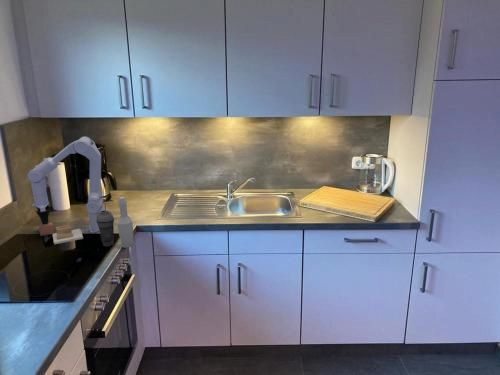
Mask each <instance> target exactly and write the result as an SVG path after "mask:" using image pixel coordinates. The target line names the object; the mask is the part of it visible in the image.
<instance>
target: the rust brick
mask: <svg viewBox="0 0 500 375" xmlns="http://www.w3.org/2000/svg"><path fill="white" fill-rule="evenodd" d="M38 230H39V236H40V237H42V236H47V235H52V234H54V233H55V228H54V224H53V221H52V222H51V221H50V222H48V224H45V225H43V224H42V223H40V224H38Z"/></svg>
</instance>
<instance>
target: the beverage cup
mask: <svg viewBox="0 0 500 375" xmlns="http://www.w3.org/2000/svg"><path fill="white" fill-rule="evenodd" d="M106 209H107V201H106V200H104V211H101V212H100V213H99V214H98V215H97V220H96V222H97V224H98V226H99V230H100V231H99V235H100V238H101V242H102V245H103V247H111V245H112V246H114V244H115V232H114V229H115V228H114V223H115V218H114V215H113V213H112V212H110V211H109V210H108V211H106Z"/></svg>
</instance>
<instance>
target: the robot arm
mask: <svg viewBox="0 0 500 375" xmlns="http://www.w3.org/2000/svg"><path fill="white" fill-rule="evenodd" d="M70 154H71V155H72V154H74V155H75V154H80V155H82V156H84V157H86V158H87V159H88V160H89V187H88V189H89V194H88V198H87V202H86V206H85V209H86V211H87V214H88V222H89V226H88V229H89V232H90V233H91V234H93V233H97V232H100V230H99V226H98V224H97V222H96V220H97V215H98V214H99V213H100V212H101V211H104V210H105V208H104V207H103V206H104V198H103V197H102V192H101V187H102V186H101V184H102V180H101V179H102V176H101V175H102V154H101V152H100V151H99V149H98V148H97V146H96V143H95V141H94V140H92V138H90V137H89V136H81V137H80V138H79V139H77V140H75V141H73V142H70V143H69V144H68V145H66V146H65V147H64V148H63V149H61V150H60V151H59V152H58V153H57V154H55V156H53V157H47V158H46V157H44V158H43V159H42V161H41V162H40V163H39V164H36V165H34V168H32V169H31V170H30V171H29V172H28V173H27V178H28V180H29V181H30V184H31V185H30V186H31V190H32V196H33V201H34V202H33V203H32V204H31V206H32V207H35V208H36V209H37V210H35V213H36V214H37V215H38V217H39V220H40V221H41V224H43V225H45V224H48V223H49V214H50V212H51V209H50V208H49V205H50V201H49V198H48V192H47V185H46V180H45V177H46V176H48V175H50V174H51V173H52V172H53V171H54V170H55V169H56V170H57V168H58V165H59V163H60V162H61V161H62V160H64V159H65V158H66V157H67V156H69V155H70ZM48 208H49V209H48ZM106 211H109V209H108V208H106Z"/></svg>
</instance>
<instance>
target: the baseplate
mask: <svg viewBox="0 0 500 375" xmlns="http://www.w3.org/2000/svg"><path fill="white" fill-rule="evenodd" d="M71 231H72V237H67V238H62V239H58V237H57V232H54V233H53V234H51V235H52V238H53V244H54V245H57V244H63V243H69V242H73V241H77V240H78V241H79V240H83V239H84V236H83V232H82V230H81V228H77V229H71Z"/></svg>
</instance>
